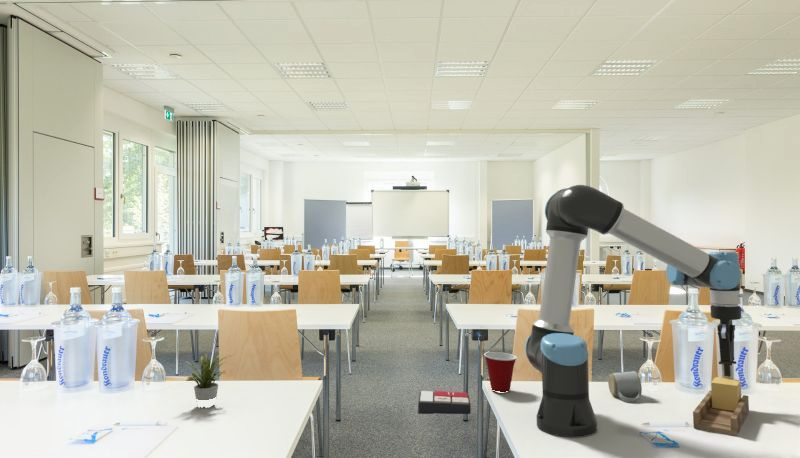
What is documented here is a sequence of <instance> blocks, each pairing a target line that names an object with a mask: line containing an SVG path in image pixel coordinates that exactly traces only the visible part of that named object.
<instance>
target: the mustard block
mask: <svg viewBox="0 0 800 458" xmlns="http://www.w3.org/2000/svg"><path fill="white" fill-rule="evenodd" d="M741 381H742V380H741V379H740V380H739V379H735V378H734V379H726V378H722V377H717V376H716V377H714V378H713V379H712V381H711V382H710V387H711V388H710V389H711V390H710V391H711V394H712V408H717V409H724V410H730V411H735V409H736V407H737V405H738V404H739V402H740V400H741V398H742V383H741Z"/></svg>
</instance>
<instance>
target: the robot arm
mask: <svg viewBox="0 0 800 458" xmlns="http://www.w3.org/2000/svg"><path fill="white" fill-rule="evenodd" d="M544 215H545V219H546V221H547V222H546V226H545V227H546V228H545V233H546V234H547V235H548V236H549V244H548V245H549V246H548V250H547V251H548V253H547V258H546V259H547V260H546V267H545V271H544V272H545V273H544V281H543V286H542V287H543V289H542V293H541V300H540V308H539V315H538V318H537V320H535V321H534V322H533V323H532V325H531V326H532V327H531V333H530V334H529V336H528V337H527V340H526V342H525V346H524V348H525V350H524V351H525V355H526V358H527V360H528V362H529V363H530V365H532V367H534V369H536V370H537V371H539V372H540V373H541V380H542V381H541V382H542V383H541V385H542V386H541V387H542V397H541V400H540V404H539V406H538V407H539V408H538V410H537V414H536V426H537V428H538V429H539V430H541V431H542V432H545V433H547V434H550V435H554V436H559V437H567V438H568V437H571V438H580V437H588V436H591V435H594V434H595V433H596V432H597V431H598V420H597V417H596V414H595V412H594V408H593V407H592V403H591V400H590V395H589V394H590V387H589V385H590V384H589V383H590V382H589V381H590V380H589V350H588V345H587V342H586V341H585V339H583V338H582V337H581V336H578V335H576V334H575V330H574V329H573V327H572V326H571V325H570V320H571V314H572V307H573V301H574V292H575V286H576V278H577V272H578V264H579V257H580V252H581V251H580V249H581V243H582V241H584V240H585V239H587V238H588V235H589V234H588V233H589V229H590V230H593V231H595V232H598V233H599V234H601V235H608V234H609V235H612V236H613V237H615V238H617V239H618V240H621V241H623V242H625V243H627V244H629V245H630V246H632V247H634V248H635V249H638V250H640V251H642V252H644V253H645V254H647V255H649V256H651V257H652V258H654V259H657V260H659V261H660V262H661V263H664V264H666V269H665V273H666V278H667V281H668V282H669V283H670V284H671V285H675V286H682V287H683V286H695V287H702V288H708V289H709V303H710V304H711V305H710V317H711V318H712V319H717V320H719V324H717V330H716V331H718V332H717V335H718V342H719V355H720V356H719V357H720V358H719V359H720V360H719V361H718V365H721V378H726V379H734V380H735V371H734V370H735V369H734V367H735V366H734V365H736V364H737V361H735V331H736V325H735V324H733V321H737V320H741V319H742V307H741V306H740V304H741V298H743V297H744V295H743V293H741V279H742V271H741V266H740V259H739V254H738V253H737V252H735V251H710V252H709V253H707V252H705V251H704V250H701V249H700V248H698V247H697V246H694V245H693V244H691V243H689V242H687V241H685V240H683V239H682V238H680V237H677V236H676V235H674V234H672V233H670V232H669V231H666V229H665V230H664V229H663V228H661V227H659V226H657V225H656V224H653V223H652V222H650V221H648V220H646V219H644V218H643V217H640V216H638V215H636V214H635V213H633V212H631V211H630V210H627V209H625V206H624V203H623V202H621V201H619V200H618V199H615V198H613V197H611V196H609V195H608V194H606V193H605V192H602V191H601V190H598V189H596V188H594V187H592V186H590V185H585V184H576V185H572V186H570V187H568V188H563V189H560V190H557V191H556V192H554V193H553V194H551V196H550V197H549V198H548V199H547V201H546V203H545V207H544ZM574 334H575V335H574Z"/></svg>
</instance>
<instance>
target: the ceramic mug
mask: <svg viewBox="0 0 800 458" xmlns="http://www.w3.org/2000/svg"><path fill="white" fill-rule="evenodd" d="M607 383H608V385H607V386H608V389H609V393H610V394H611V395H612V396H613V397H614V398H615V397H616V398H620V399H621V400H622V401H623V402H627V403H631V404H632V403H637V402H638V401H640V397H641V396H642V392H643V391H642V389H643V388H642V381H641V378H640V375H639V374H638V372H637V371H635V370H632V371H621V372H614V373H610V374H609V375H608V377H607Z"/></svg>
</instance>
